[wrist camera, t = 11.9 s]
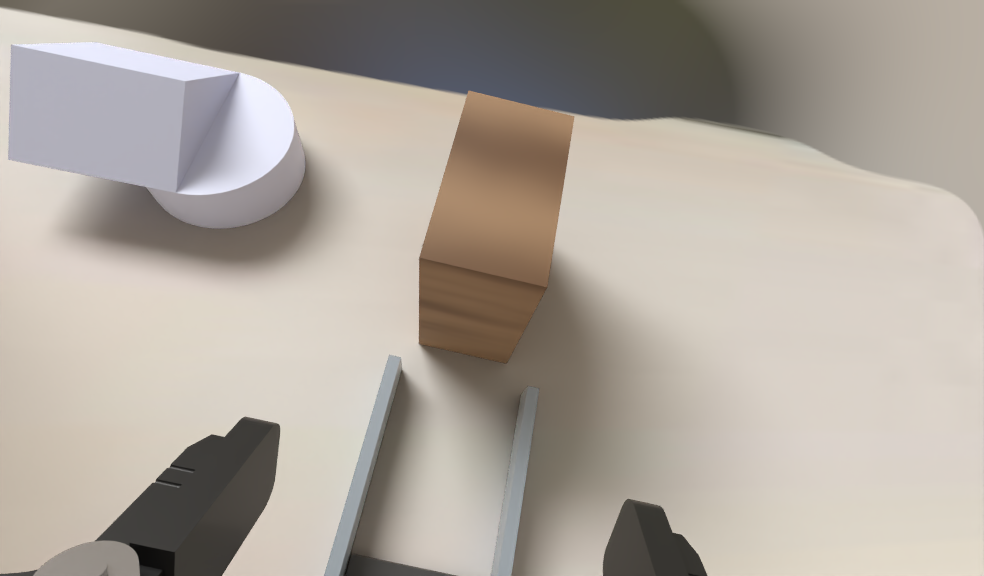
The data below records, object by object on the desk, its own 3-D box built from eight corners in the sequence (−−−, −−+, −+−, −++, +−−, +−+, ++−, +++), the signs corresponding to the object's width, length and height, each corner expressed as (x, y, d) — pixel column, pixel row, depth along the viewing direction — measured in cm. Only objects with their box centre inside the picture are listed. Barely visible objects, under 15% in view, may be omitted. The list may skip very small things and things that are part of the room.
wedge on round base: (50, 197, 29) (278, 242, 30) (-46, 111, 23) (242, 169, 24) (124, 86, 33) (323, 127, 34) (59, -13, 27) (303, 40, 28)
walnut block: (506, 363, 28) (547, 287, 19) (418, 343, 28) (419, 257, 19) (531, 230, 32) (574, 116, 23) (454, 212, 32) (468, 90, 23)
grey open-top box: (490, 662, 22) (496, 674, 21) (315, 627, 22) (306, 635, 20) (531, 397, 28) (539, 388, 26) (391, 366, 27) (389, 354, 26)
